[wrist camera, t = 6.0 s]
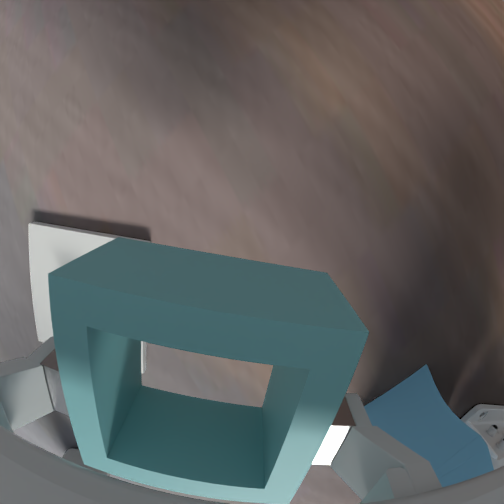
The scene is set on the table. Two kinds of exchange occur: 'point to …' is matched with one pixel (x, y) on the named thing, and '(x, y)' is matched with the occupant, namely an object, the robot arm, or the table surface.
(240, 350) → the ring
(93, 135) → the table surface
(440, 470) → the vase
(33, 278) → the post stand
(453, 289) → the table surface
